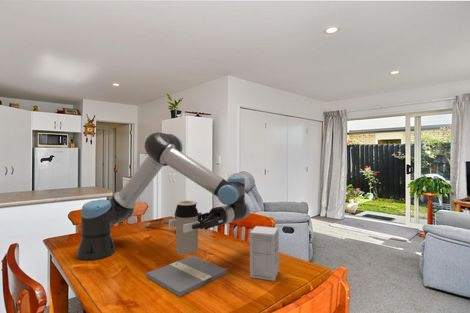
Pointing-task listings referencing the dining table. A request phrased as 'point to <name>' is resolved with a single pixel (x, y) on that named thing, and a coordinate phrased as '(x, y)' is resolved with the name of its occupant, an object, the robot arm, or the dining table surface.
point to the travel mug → (184, 215)
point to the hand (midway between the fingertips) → (176, 226)
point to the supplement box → (264, 253)
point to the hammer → (160, 222)
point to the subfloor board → (186, 275)
